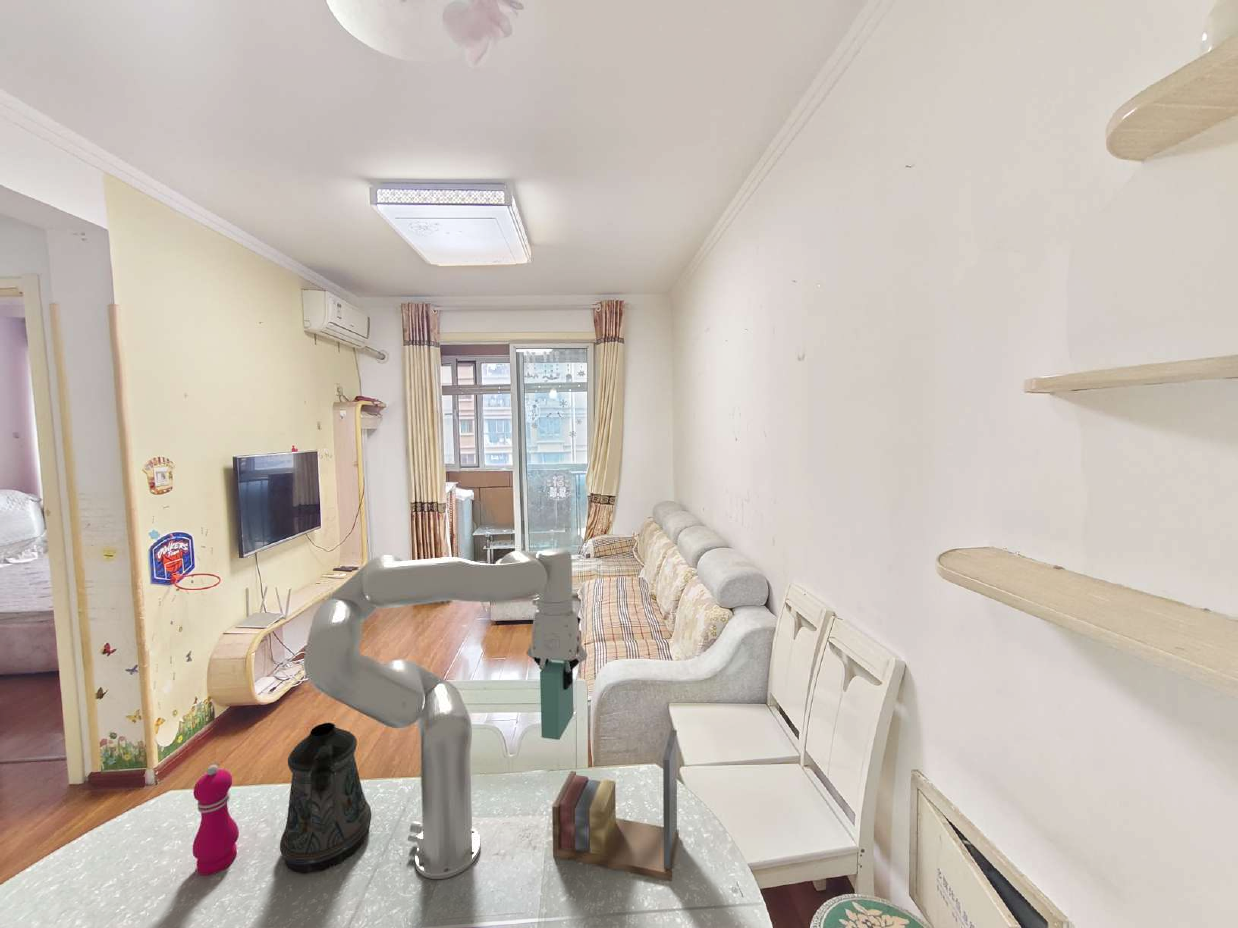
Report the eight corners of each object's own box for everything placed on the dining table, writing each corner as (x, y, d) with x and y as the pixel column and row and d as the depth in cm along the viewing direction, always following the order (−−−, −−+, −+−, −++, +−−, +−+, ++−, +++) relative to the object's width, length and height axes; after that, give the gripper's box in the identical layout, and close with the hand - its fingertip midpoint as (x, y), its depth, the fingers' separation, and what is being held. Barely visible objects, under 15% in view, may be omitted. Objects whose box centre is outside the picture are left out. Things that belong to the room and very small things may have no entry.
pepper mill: (184, 871, 98) (179, 773, 97) (224, 843, 105) (219, 751, 104) (209, 882, 96) (203, 781, 95) (248, 852, 103) (243, 758, 102)
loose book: (541, 737, 108) (540, 671, 107) (557, 712, 118) (555, 652, 117) (559, 739, 107) (557, 673, 106) (573, 714, 117) (572, 653, 116)
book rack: (553, 855, 101) (552, 806, 101) (571, 815, 112) (570, 770, 111) (670, 881, 95) (670, 828, 95) (678, 836, 106) (678, 788, 106)
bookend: (663, 868, 96) (663, 759, 95) (671, 828, 106) (671, 729, 105) (669, 869, 96) (669, 760, 95) (676, 829, 106) (676, 729, 104)
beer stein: (347, 802, 117) (343, 697, 116) (395, 839, 106) (391, 724, 105) (266, 850, 103) (260, 733, 102) (311, 899, 92) (305, 768, 91)
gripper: (513, 608, 109) (515, 690, 110) (587, 613, 105) (588, 698, 106) (526, 597, 116) (528, 674, 117) (596, 602, 113) (597, 681, 114)
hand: (557, 684), depth 112 cm, fingers closed on loose book, 4 cm apart
